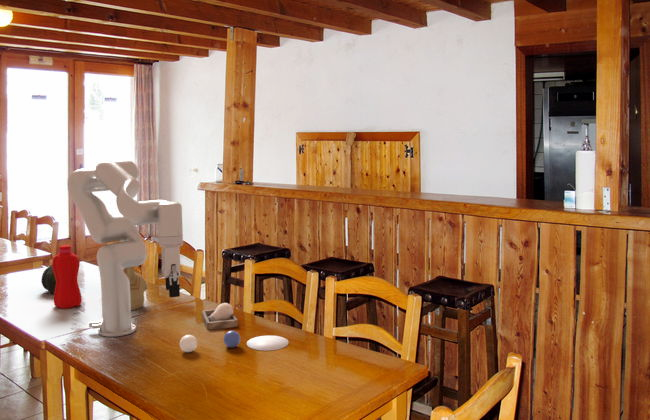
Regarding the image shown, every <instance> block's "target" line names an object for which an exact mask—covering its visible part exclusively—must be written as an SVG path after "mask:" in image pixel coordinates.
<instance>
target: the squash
mask: <svg viewBox="0 0 650 420" xmlns="http://www.w3.org/2000/svg"><path fill="white" fill-rule="evenodd" d="M41 285H42V288H44V289H45V290H46V291H48V293H50V294H53V295H54V292H55V287H56V277H55V274H54V271H53V268H52V264H50V265H49V266H48V267H47V268H46V269H44V271H43V273H42V276H41Z"/></svg>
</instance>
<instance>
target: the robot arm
mask: <svg viewBox="0 0 650 420" xmlns="http://www.w3.org/2000/svg"><path fill="white" fill-rule="evenodd" d="M138 177H139V169H138V166H137V164H135V163H134V161H132V160H130V159H109V160H103V161H101V162H99V163H98V164H97V165H96V167H88V168H87V167H86V168H80V169H75V170H74V171H72V172H71V173H70V174H69V176H68V178H67V190H68V194H69V196H70V198H71V200H72V201H73V204H74V205H75V206H76V208H77V209H78V210H79V212H80V214H81V216H82V218H83V221H84V224H85V226H86V228H87V230H88V233H89V234H90V237H91V239H92V240H93V241H94V242H95V243H97V244H105V245H102V246H101V247H100V248H98V250H97V253H96V263H97V265H98V271H99V278H100V291H101V293H100V294H101V310H102V311H101V312H102V313H101V314H102V317H101V319H100V320H98V321H89V322H88V325H89V326H88V327H89V328H92V329H94V330H95V329H98V331H97V332H98V334H99V335H100V336H103V337H106V338H107V337H108V338H109V337H113V338H116V337H122V336H127V335H130V334H133V333H134V332H135V331H136V330H137V325H135V324H134V323H132V310H131V302H130V282H129V279H128V277H127V275H126V274H125V273H124V271H123V269H126V268H130V267H134V268H135V267H138V266H141V265H143V264H144V263H146V260H147V259H148V251H147V248H146V245H145V242H144V240H143V238H142V235H141V234H140V232H139V230H138V227H137V226H145V225H152V224H157V232H158V234H157V235H158V247H160V248H161V274H162V275H163V277H164V278H165V290H166V291H168V296H169V298H179V297H180V296H181V293H180V291H181V290H180V281H179V280H180V279H179V277H180V276H181V253H180V247H181V246H183V245H184V237H183V236H184V235H183V234H184V233H183V229H184V228H183V208H182V207H183V206H182V204H181V203H180V202H178V201H168V200H164V199H153V200H150V199H149V200H142V201H141V200H140V201H137V200H135V199H134V198H135V197H136V196H137V195H138V193H139V191H140V182H139V181H138V180H137V179H138ZM105 191H110V192H111V193H112V194H114V195H115V196H116V198H115V199H116V200H115V201H116V207H117V209H118V212H119V214H110V212H109V211H108V209H107V207H106V204H105V203H104V202H103V201H102V200H101V199H100V198H99V197H98V196H97V195H95V194H94V193H95V192H105ZM93 192H94V193H93Z"/></svg>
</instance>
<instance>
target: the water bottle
mask: <svg viewBox="0 0 650 420" xmlns="http://www.w3.org/2000/svg"><path fill="white" fill-rule="evenodd" d="M58 249H59V250H58V251H59V253H57V254H56V255H55V256H54V257H53V258H52V263H51V265H52V268H53V271H54V274H55V277H56V287H55V292H54V294H53V304H54V306H55V307H56V308H60V309H63V310H64V309H66V310H67V309H70V308H75V307H79V306H80V305H81V304H82V293H81V289H80V285H79V283H78V275H79V270H80V265H81V264H80V259H79V256H78V255H76V254H75V253H73V252H72V246H71V245H69V244H65V245H60V246H59V247H58Z"/></svg>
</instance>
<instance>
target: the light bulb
mask: <svg viewBox="0 0 650 420" xmlns="http://www.w3.org/2000/svg"><path fill="white" fill-rule="evenodd" d="M215 309H216V310H215V311H214V313H212V314H211V315H210V316H209V317H207V318H208V319H209V322H214V321H225V320H231V319H230V318H231V317H232V315H233V313H234V307H233V306H232V305H231V304H230V303H228V302H222V303H220V304H219V305H218V306H217V307H216V308H215Z"/></svg>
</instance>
